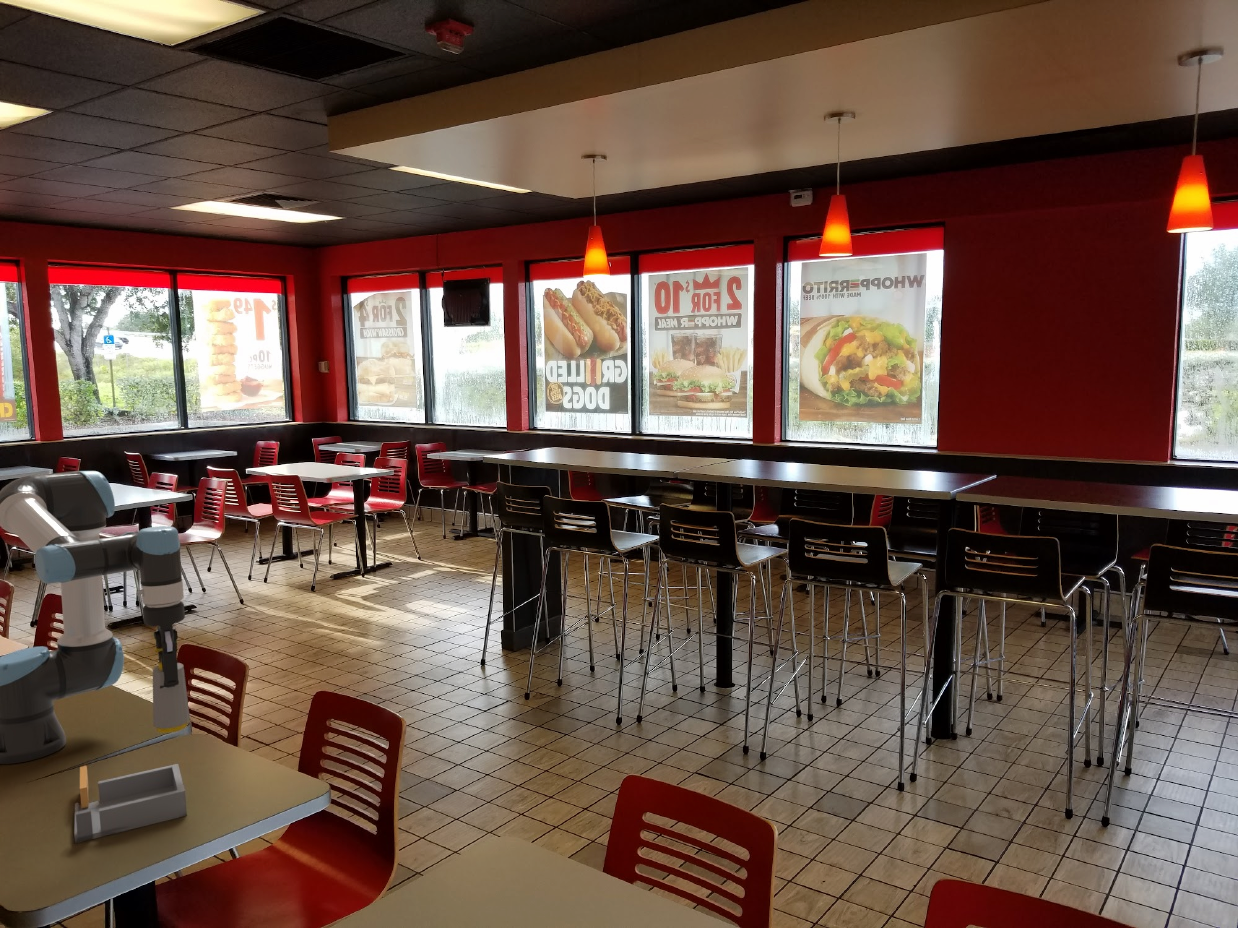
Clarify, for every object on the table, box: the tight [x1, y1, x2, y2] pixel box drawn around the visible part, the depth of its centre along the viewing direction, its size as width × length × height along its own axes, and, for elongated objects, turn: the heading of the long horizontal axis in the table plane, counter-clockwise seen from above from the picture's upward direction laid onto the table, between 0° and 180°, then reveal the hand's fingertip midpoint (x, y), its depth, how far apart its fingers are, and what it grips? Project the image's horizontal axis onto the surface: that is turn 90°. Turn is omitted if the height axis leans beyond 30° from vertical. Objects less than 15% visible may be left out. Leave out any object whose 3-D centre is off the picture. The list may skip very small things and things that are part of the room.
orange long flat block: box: [79, 765, 90, 808], centre depth 179 cm, size 12×1×4 cm, turn 31°
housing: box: [73, 763, 188, 844], centre depth 174 cm, size 15×19×5 cm
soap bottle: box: [152, 648, 191, 734], centre depth 181 cm, size 7×7×18 cm
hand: (172, 714), depth 181 cm, fingers closed on soap bottle
